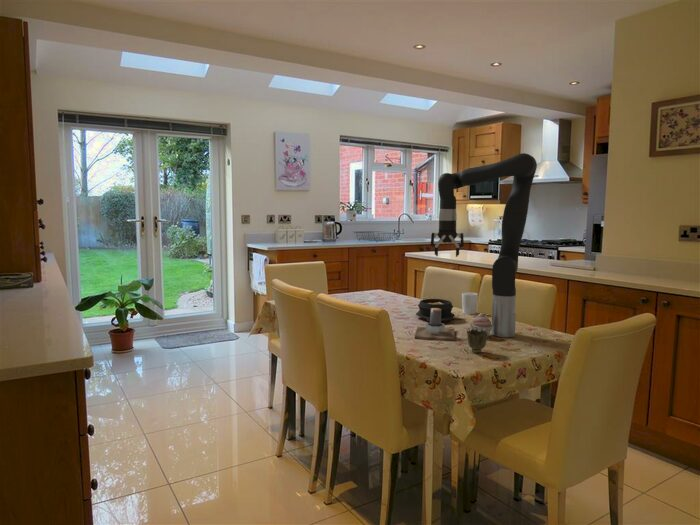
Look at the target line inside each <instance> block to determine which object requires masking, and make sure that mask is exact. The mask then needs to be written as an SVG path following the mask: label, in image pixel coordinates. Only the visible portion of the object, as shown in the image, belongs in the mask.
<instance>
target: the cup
mask: <svg viewBox="0 0 700 525" xmlns="http://www.w3.org/2000/svg"><path fill="white" fill-rule="evenodd" d="M487 334H488V332H487V333H486V331H483V330H481V331H479V332H478V330H477V329H476V330H473V329H472V328H471V330H470V329H468V330H466V336H467V337H466V338H467V343H468V346H469V348H471V352H472V353H473V354H481V353H482V352H483V350H482V349H484V348H485V347H486V344H487V340H488V337H487Z"/></svg>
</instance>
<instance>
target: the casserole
mask: <svg viewBox="0 0 700 525" xmlns="http://www.w3.org/2000/svg"><path fill="white" fill-rule="evenodd" d="M417 307H418V308H419V309H418V311H417V312H416V313H415V314H416V316H417V317H419V318H422V319H423V320H427V321H430V313H431V308H439V309H441V322H448V321H452V320H454V317H455V316H456V314H455V313H453V312H452V310H453V308H454V306H453V303H452V301H450V300H449V299H448V300H447V299H444V298H443V299H441V298H425V299H421V300H420V301H419V302H418V304H417Z"/></svg>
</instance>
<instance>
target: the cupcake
mask: <svg viewBox="0 0 700 525" xmlns="http://www.w3.org/2000/svg"><path fill="white" fill-rule="evenodd" d="M469 326H470V327H471V330H472V329H473V330H476V329H477V330H478V332H479V331H481V330H483V331H486V333H487V332H488V334H487V338H489V337H490V334H491V329H492V327H493V326H492V320H490V318H489V317H488V315H486V314H484V313H483V312H481V313H478V315H477V316H476V317H474V318H473V319H472V323H470V324H469Z"/></svg>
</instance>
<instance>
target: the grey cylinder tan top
mask: <svg viewBox="0 0 700 525" xmlns="http://www.w3.org/2000/svg"><path fill="white" fill-rule="evenodd" d="M429 323H430V326H440V325H441V323H442V321H441V309H439V308H431V313H430V320H429Z"/></svg>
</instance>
